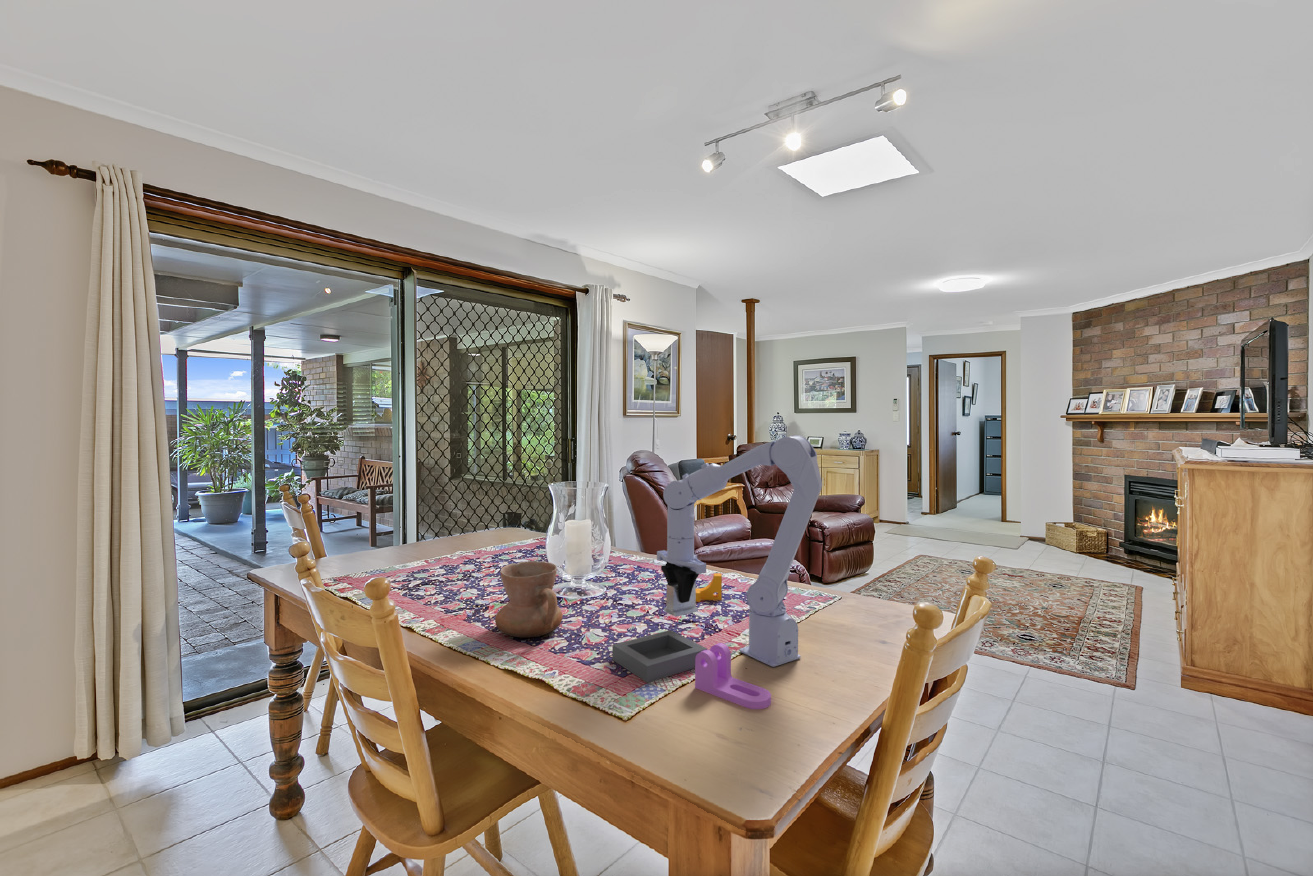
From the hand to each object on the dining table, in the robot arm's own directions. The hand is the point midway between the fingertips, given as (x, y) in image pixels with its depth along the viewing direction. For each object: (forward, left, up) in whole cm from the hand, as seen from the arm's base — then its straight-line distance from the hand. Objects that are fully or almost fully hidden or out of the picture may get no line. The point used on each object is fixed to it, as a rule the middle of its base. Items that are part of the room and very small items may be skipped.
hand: (680, 600), depth 126 cm
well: (-7, +11, -8) cm, 15 cm away
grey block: (0, 0, -2) cm, 3 cm away
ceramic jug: (+22, +25, -9) cm, 34 cm away
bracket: (-25, +7, -9) cm, 28 cm away
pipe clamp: (+19, -21, -9) cm, 30 cm away
